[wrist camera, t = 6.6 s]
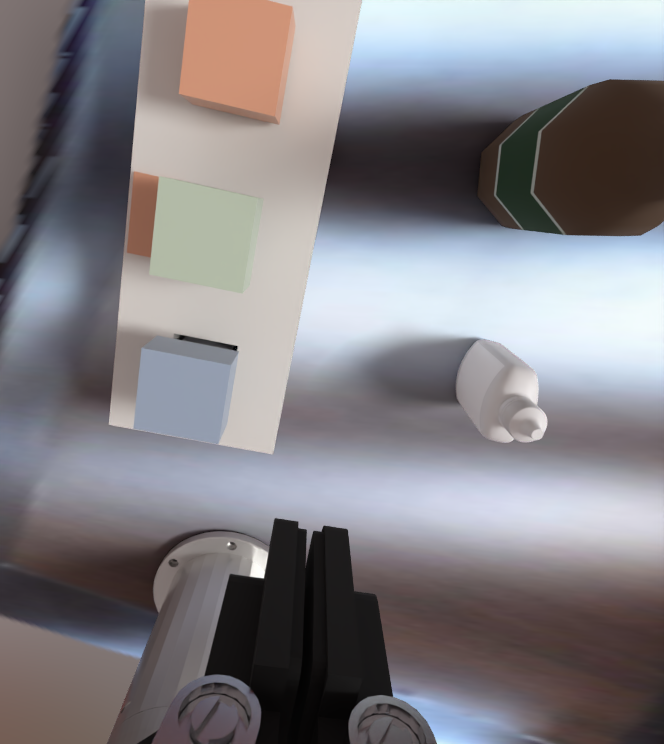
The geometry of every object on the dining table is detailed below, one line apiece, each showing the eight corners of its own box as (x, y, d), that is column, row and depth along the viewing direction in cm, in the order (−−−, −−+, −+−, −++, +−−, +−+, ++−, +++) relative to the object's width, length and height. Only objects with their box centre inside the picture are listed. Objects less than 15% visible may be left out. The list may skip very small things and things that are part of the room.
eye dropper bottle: (434, 378, 42) (477, 443, 30) (485, 329, 40) (550, 377, 29) (470, 412, 43) (524, 487, 31) (521, 364, 41) (597, 425, 30)
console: (278, 426, 43) (272, 456, 38) (133, 399, 42) (107, 426, 37) (358, 17, 34) (365, -17, 29) (176, -30, 33) (149, -73, 28)
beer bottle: (544, 248, 39) (866, 310, 16) (453, 204, 37) (657, 203, 15) (600, 145, 36) (1068, 44, 14) (505, 96, 35) (840, -104, 12)
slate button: (238, 397, 39) (218, 444, 32) (170, 384, 39) (133, 428, 31) (249, 332, 38) (231, 365, 30) (178, 318, 37) (141, 347, 30)
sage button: (259, 275, 36) (242, 293, 29) (185, 259, 36) (148, 274, 28) (271, 199, 35) (257, 197, 27) (195, 182, 34) (159, 176, 27)
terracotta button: (285, 135, 35) (275, 116, 28) (210, 118, 35) (178, 93, 27) (299, 51, 34) (292, 6, 26) (220, 32, 33) (190, -20, 26)
